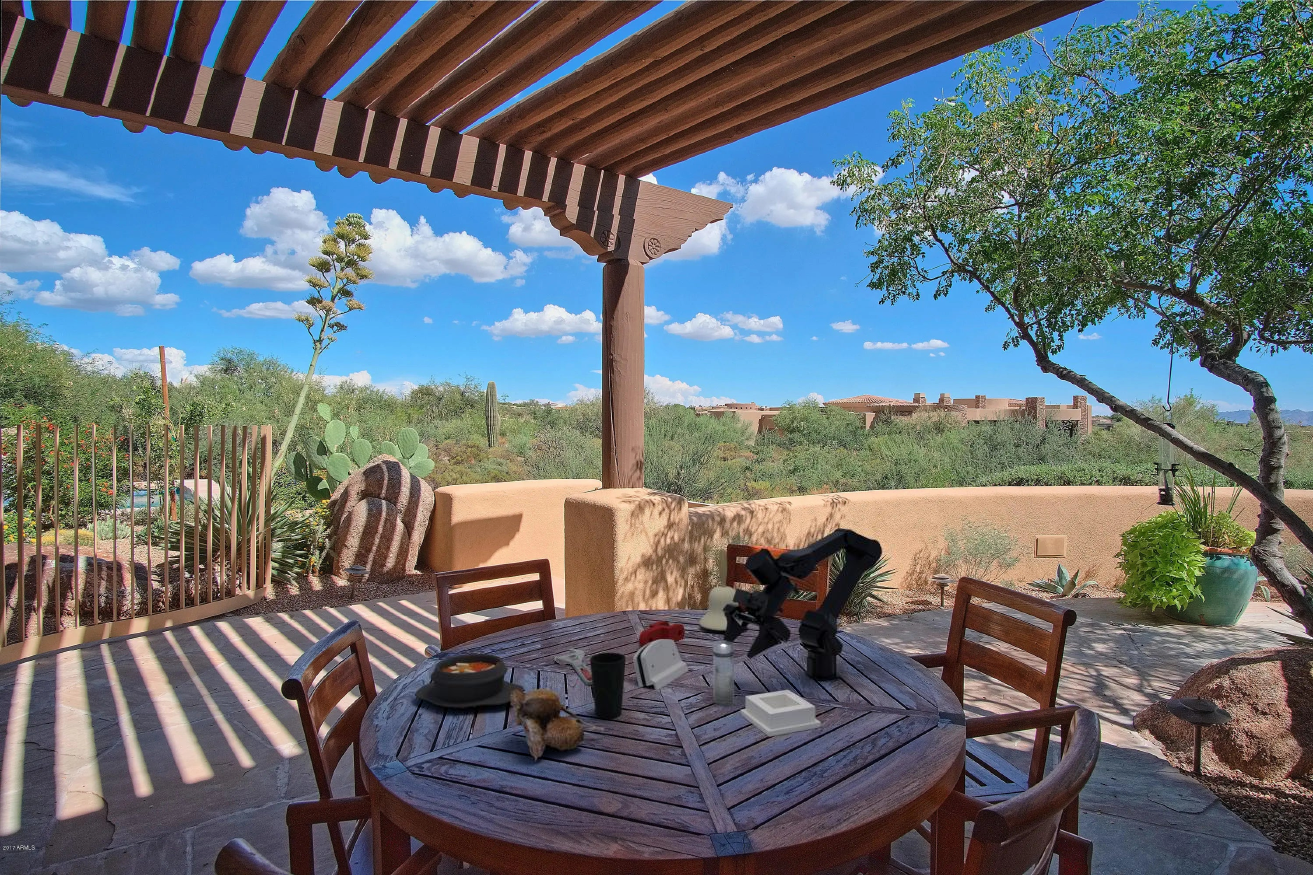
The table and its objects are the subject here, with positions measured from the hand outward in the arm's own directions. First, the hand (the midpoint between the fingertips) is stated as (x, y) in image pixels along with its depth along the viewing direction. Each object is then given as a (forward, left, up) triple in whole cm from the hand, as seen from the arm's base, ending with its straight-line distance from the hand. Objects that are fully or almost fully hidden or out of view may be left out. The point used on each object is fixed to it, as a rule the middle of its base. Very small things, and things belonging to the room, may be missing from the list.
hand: (735, 651), depth 155 cm
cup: (+29, -2, -11) cm, 31 cm away
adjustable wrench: (+28, -34, -11) cm, 46 cm away
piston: (+3, +1, -10) cm, 11 cm away
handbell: (-24, -54, -11) cm, 60 cm away
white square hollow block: (-3, +15, -10) cm, 18 cm away
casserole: (+56, -22, -11) cm, 62 cm away
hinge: (+11, -20, -11) cm, 25 cm away
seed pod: (+45, +9, -11) cm, 47 cm away
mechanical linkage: (+1, -47, -11) cm, 49 cm away
